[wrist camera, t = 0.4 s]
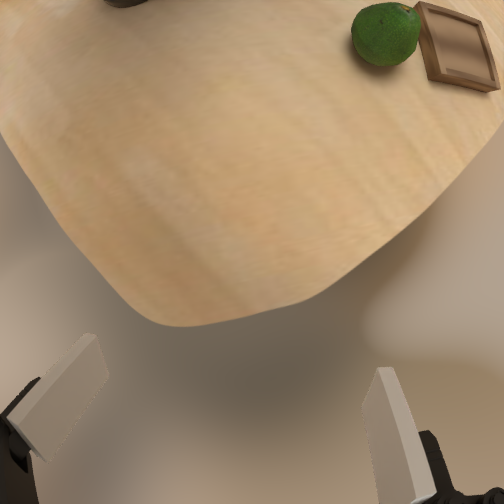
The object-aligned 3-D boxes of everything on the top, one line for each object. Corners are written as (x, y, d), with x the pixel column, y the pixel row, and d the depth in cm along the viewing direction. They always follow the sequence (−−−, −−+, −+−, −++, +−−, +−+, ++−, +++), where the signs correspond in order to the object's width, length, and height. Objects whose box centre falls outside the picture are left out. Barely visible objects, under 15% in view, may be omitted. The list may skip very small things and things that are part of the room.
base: (409, 11, 24) (419, 1, 20) (468, 28, 22) (480, 21, 19) (428, 79, 28) (441, 73, 24) (486, 92, 26) (500, 89, 22)
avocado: (409, 58, 27) (449, 28, 16) (374, 84, 29) (409, 55, 18) (369, 17, 26) (395, -25, 14) (332, 41, 28) (349, -3, 17)
